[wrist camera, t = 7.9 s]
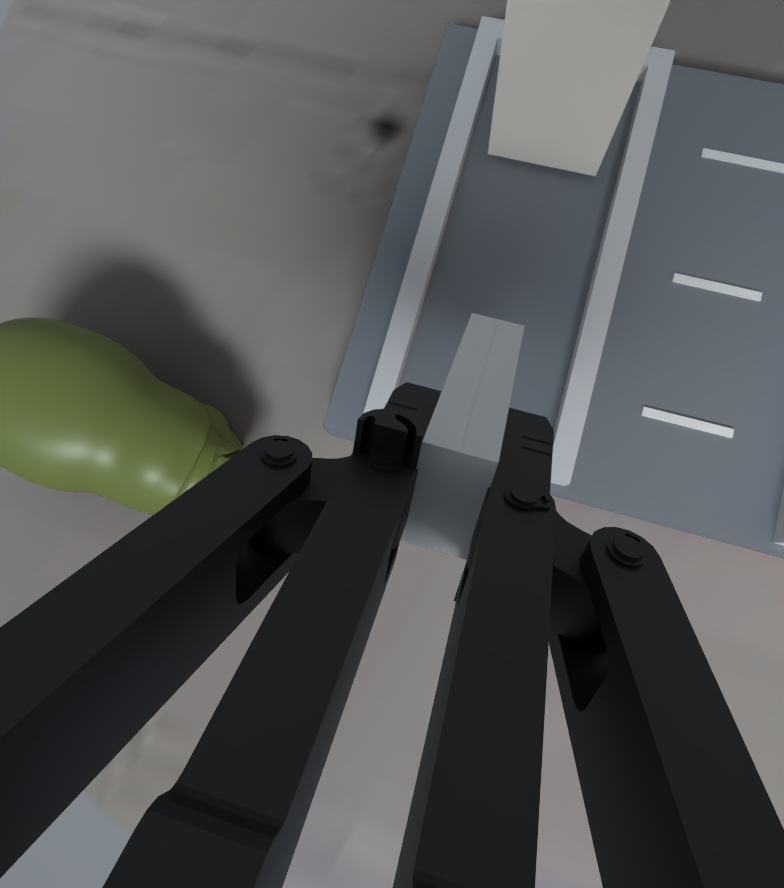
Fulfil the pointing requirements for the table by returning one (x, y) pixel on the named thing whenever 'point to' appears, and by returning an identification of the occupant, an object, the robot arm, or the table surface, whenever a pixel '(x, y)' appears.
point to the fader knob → (568, 77)
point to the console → (601, 289)
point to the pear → (100, 418)
